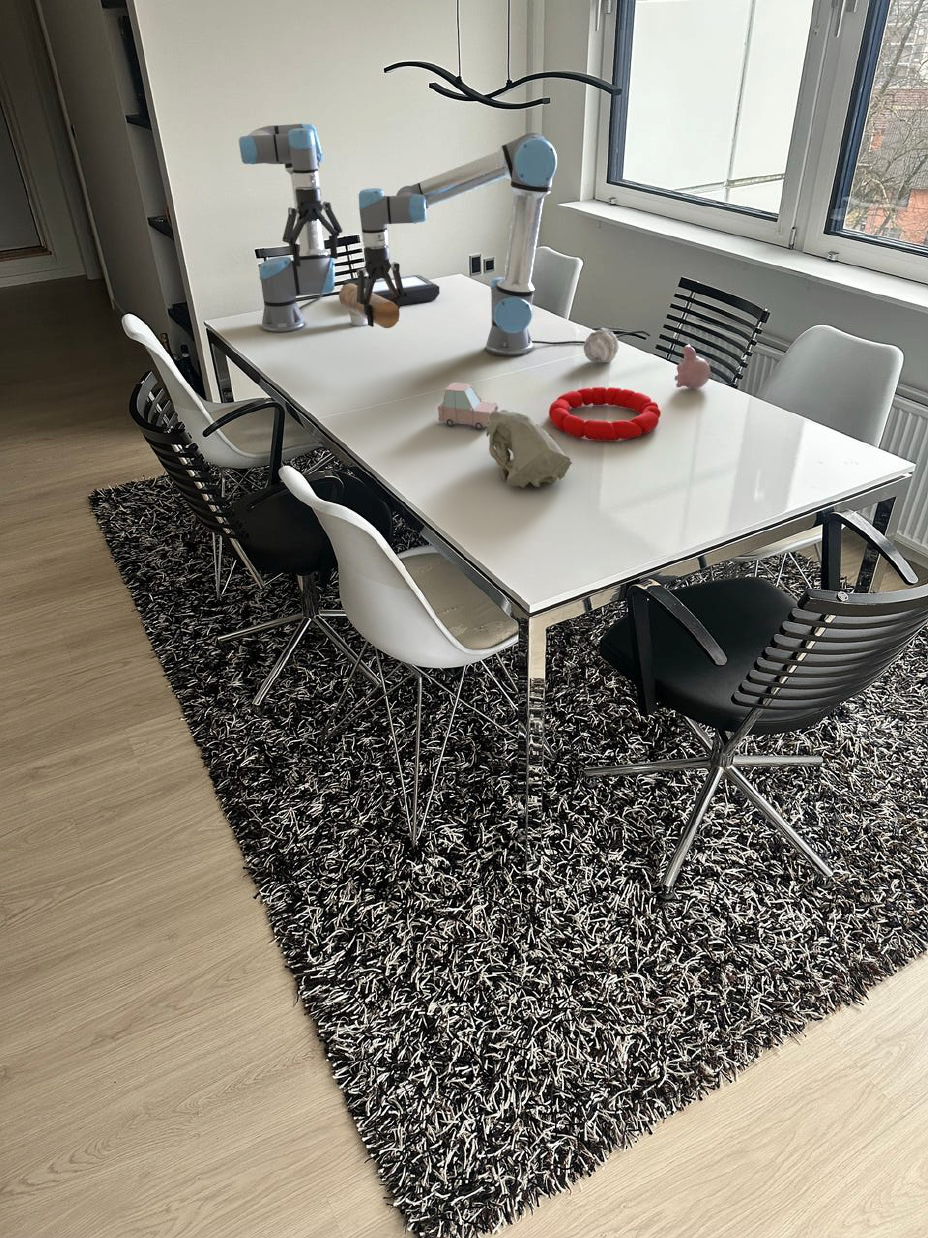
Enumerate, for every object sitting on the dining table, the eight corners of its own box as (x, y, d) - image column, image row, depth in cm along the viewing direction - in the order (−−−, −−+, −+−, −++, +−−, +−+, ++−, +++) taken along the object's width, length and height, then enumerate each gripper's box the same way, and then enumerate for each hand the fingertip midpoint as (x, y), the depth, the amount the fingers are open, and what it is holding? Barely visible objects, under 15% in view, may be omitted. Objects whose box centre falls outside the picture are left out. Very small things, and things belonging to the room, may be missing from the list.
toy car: (488, 432, 240) (488, 396, 234) (436, 426, 244) (434, 390, 239) (499, 419, 247) (499, 384, 241) (448, 413, 252) (447, 379, 246)
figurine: (665, 387, 264) (669, 347, 257) (693, 380, 268) (698, 340, 261) (686, 396, 257) (690, 355, 250) (714, 388, 262) (720, 348, 255)
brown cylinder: (340, 310, 295) (337, 285, 290) (362, 306, 298) (359, 281, 294) (377, 330, 275) (375, 304, 270) (400, 325, 278) (398, 299, 274)
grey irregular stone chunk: (496, 517, 219) (521, 479, 201) (463, 429, 225) (484, 384, 207) (557, 503, 225) (586, 465, 206) (523, 417, 231) (549, 373, 212)
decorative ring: (589, 435, 224) (684, 402, 234) (527, 398, 247) (617, 369, 256) (589, 461, 229) (683, 427, 238) (529, 422, 251) (617, 393, 260)
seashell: (573, 361, 285) (574, 329, 280) (611, 352, 291) (613, 322, 285) (592, 370, 278) (593, 338, 272) (630, 361, 284) (632, 330, 278)
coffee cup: (372, 326, 323) (368, 283, 314) (345, 327, 323) (340, 284, 315) (374, 318, 331) (371, 276, 322) (348, 319, 331) (344, 277, 323)
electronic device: (361, 295, 335) (344, 283, 350) (362, 312, 338) (346, 299, 353) (439, 284, 345) (420, 273, 360) (439, 300, 349) (421, 289, 364)
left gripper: (277, 194, 258) (287, 270, 270) (349, 183, 270) (355, 256, 283) (264, 191, 262) (275, 266, 274) (335, 180, 275) (342, 253, 287)
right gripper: (349, 253, 259) (358, 332, 272) (412, 242, 268) (418, 319, 281) (339, 249, 265) (348, 326, 278) (401, 238, 273) (407, 314, 286)
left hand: (316, 261), depth 278 cm, fingers open, 13 cm apart
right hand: (383, 322), depth 279 cm, fingers closed on brown cylinder, 8 cm apart
